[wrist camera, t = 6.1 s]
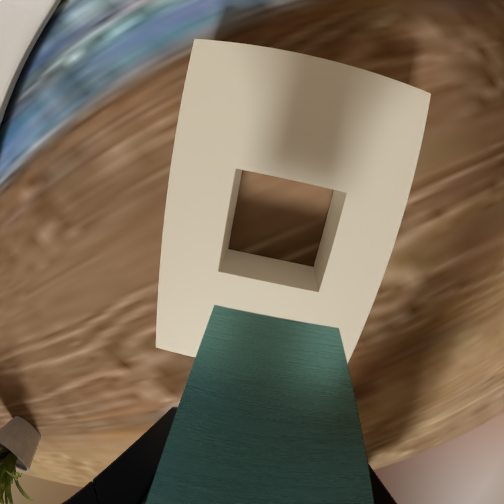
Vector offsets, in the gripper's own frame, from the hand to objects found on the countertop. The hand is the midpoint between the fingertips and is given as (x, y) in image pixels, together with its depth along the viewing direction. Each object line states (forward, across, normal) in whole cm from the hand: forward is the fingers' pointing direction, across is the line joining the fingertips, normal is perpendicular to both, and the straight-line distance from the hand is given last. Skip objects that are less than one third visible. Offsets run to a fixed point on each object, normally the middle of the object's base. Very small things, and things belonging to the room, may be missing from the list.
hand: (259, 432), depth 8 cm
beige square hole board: (+14, 0, -2) cm, 14 cm away
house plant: (+13, +28, +33) cm, 46 cm away
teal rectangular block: (+3, 0, 0) cm, 3 cm away
